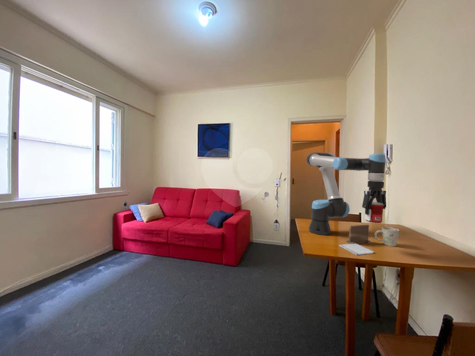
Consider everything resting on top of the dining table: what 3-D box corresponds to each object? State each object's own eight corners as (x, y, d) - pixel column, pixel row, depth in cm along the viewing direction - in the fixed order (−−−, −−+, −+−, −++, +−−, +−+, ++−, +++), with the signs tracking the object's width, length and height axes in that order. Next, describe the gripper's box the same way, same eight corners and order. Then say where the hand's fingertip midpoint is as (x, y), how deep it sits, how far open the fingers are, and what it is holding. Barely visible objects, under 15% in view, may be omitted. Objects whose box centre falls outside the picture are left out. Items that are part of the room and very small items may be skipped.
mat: (339, 245, 107) (339, 244, 107) (355, 244, 110) (355, 243, 110) (356, 255, 96) (356, 253, 96) (374, 253, 98) (374, 251, 98)
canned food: (384, 222, 103) (385, 203, 103) (378, 224, 99) (380, 204, 98) (368, 218, 110) (369, 201, 109) (363, 220, 105) (364, 202, 105)
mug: (402, 247, 107) (402, 231, 106) (378, 245, 109) (378, 229, 109) (392, 242, 115) (393, 227, 114) (370, 240, 117) (371, 225, 117)
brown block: (346, 241, 114) (346, 224, 114) (363, 240, 118) (364, 223, 117) (352, 244, 110) (353, 227, 109) (370, 243, 113) (371, 225, 113)
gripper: (368, 181, 97) (365, 222, 98) (396, 181, 102) (393, 220, 103) (355, 180, 104) (353, 218, 105) (382, 180, 110) (380, 217, 110)
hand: (373, 219), depth 104 cm, fingers closed on canned food, 8 cm apart
